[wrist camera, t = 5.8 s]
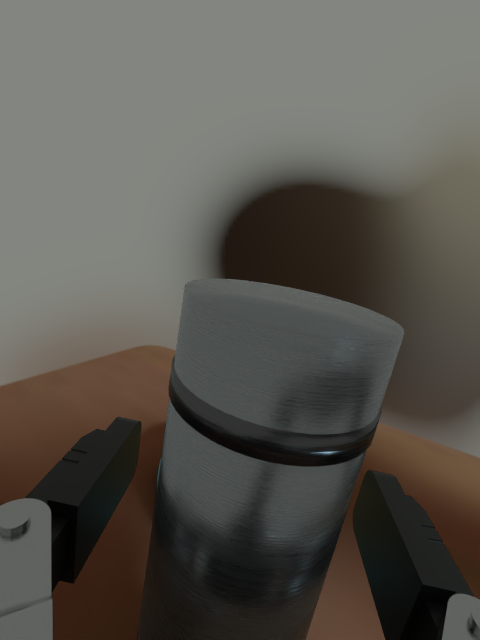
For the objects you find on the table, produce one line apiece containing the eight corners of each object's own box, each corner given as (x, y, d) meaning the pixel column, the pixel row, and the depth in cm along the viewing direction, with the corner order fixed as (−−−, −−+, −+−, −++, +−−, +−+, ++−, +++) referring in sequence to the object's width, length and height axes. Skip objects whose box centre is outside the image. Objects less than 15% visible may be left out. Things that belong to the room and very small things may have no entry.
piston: (225, 609, 14) (298, 284, 10) (299, 762, 10) (454, 337, 7) (107, 674, 11) (151, 271, 8) (149, 911, 8) (271, 347, 4)
